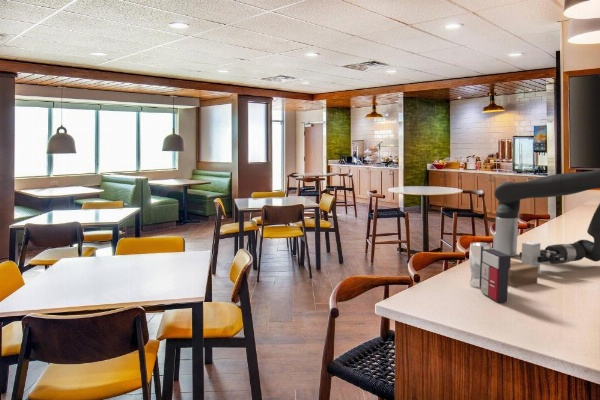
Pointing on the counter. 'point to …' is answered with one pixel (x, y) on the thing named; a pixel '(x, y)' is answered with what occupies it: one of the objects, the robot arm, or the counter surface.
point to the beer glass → (476, 262)
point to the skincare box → (531, 253)
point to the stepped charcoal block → (495, 274)
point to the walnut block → (521, 274)
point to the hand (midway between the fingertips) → (528, 257)
